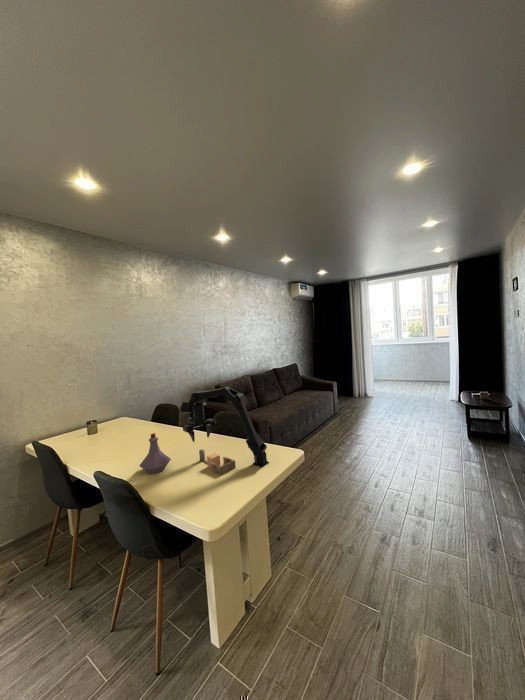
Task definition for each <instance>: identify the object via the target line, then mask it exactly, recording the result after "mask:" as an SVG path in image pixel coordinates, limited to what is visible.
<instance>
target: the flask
mask: <svg viewBox="0 0 525 700" xmlns="http://www.w3.org/2000/svg"><path fill="white" fill-rule="evenodd" d="M158 440H159V437H157V436H156V433H155V432H154V433H151V434H150V438H149V439H148V441H149V449H148V453H147V455H146V456H145V457H144V459H143V460H142V462H141V463H140V464H139V465H138V466H139V467H140V468H141V469H143V470H144V471H145V472H146V473H148V475H154V474H155V475H156V474H158V473H159V474H160V473H161V472H163V471H164V470H165V469H166V468H167V466H168V465H169V463H170V461H171V460H172V459H171V458H170V457H169V456H168V455H166V454H165V453H164V452H162V450H161V449H160V446H159V444H158Z"/></svg>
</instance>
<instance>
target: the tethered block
mask: <svg viewBox="0 0 525 700" xmlns="http://www.w3.org/2000/svg"><path fill="white" fill-rule="evenodd" d="M198 452H199V462H202V463H207V468H209V469H211V465H210V463H215V464H217V465H219V466H222V465H221V455H220V454H218V453H216V452H214V453H211V454H209V455H207V456H206V453H205V449H202V448H201V449H199V451H198Z"/></svg>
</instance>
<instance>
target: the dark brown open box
mask: <svg viewBox="0 0 525 700" xmlns="http://www.w3.org/2000/svg"><path fill="white" fill-rule="evenodd" d="M222 459H223V460H222V461H223V464H222V465H221V466H219V465H217V464H215V463H210V465H211V468H210V471H212V472H213V473H215V474H218V475H220V476H223V475H225V474H227V473H228V472H230V471H233V470H235V469H236V468H237V467H236V466H237V465H236V460H235V459H232V458H229V457H227V456H223V457H222Z"/></svg>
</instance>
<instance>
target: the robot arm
mask: <svg viewBox="0 0 525 700" xmlns="http://www.w3.org/2000/svg"><path fill="white" fill-rule="evenodd" d="M219 396H225V398H226V399H227V400H228V401H229V402H231V404H232V406H233V408H234V409H236V411H237V412H238V414H239V417H240V419H241V422H242V424H243V426H244V430H245V432H246V434H247V439H246V440H245V442H246V445H247V448H248V449H249V451H251V452H252V455H253V460H254V462H252V465H254V466H257V467H259V468H262V467H264V466H265V465H267V464H269V463H270V461H268V459H267V452H266V450H267V448H268V446H267V444H266V443H265V442H264V441H263V439H262V438H261V436H260V435H259V433H258V432H256V430H255V427H254V424H253V422H252V420H251V416H250V415H249V412H248V410H247V401H246V397H245V395H244V393H242V392H238V391H237V390H234V389H232V388H231V387H229V386H224V387H219V388H216V389H215V388H214V389H211V390H198V391H195V392H193V393H191V395H190V399H189V400H188V401H184V400H183V401H182V402H181V405H180V412H181V413H182V414H192V413H193V415H192V417H191V416H188V417H186V423H187V424H185V425H183V427H182V431H183V432H186V433H187V434H189V436H190V438H191V440H192V442H193V443H195V442H196V438H195V431H194V429H198V428H200V427H204V426H205V427H206V437H207V438H210V435H211V432H212V430H213V428H214V427H215V425H216V424H217V421H216V419H213V418H208V419H205V417H206V414H205V409H204V407H205V406H207V405H208V404H207V403H206V402H205V401H204V400H206V399H210V398H215V397H219Z"/></svg>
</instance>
